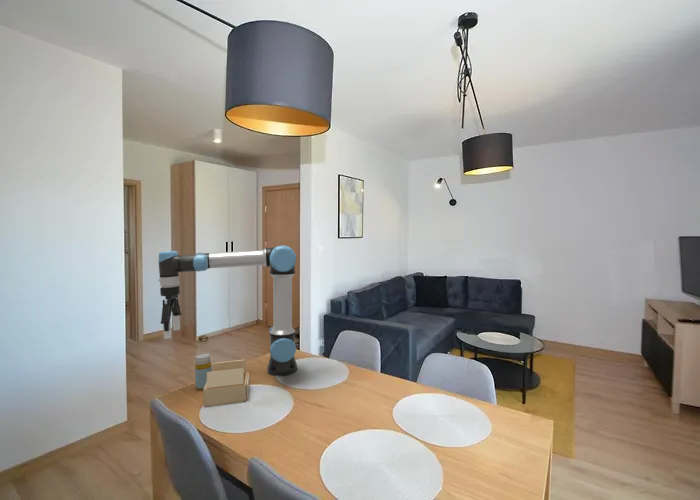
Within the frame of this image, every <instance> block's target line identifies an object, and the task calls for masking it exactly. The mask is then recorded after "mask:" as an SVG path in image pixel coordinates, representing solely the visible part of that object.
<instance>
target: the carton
mask: <svg viewBox="0 0 700 500" xmlns="http://www.w3.org/2000/svg"><path fill="white" fill-rule="evenodd" d="M243 380H244V384H236V385H228V386H220V387H211V388H207V382H206V385H205V387H204V389H203V390H202V392H203V405H205V408H207V407H214V406H215V405H216V406H222V405H223V404H224V405H229V404H230V405H231V404H240V403H245V402H246V403H247V400H248V399H249V395H250V388H251V386H250V372H248V371H247V372H243Z"/></svg>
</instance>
